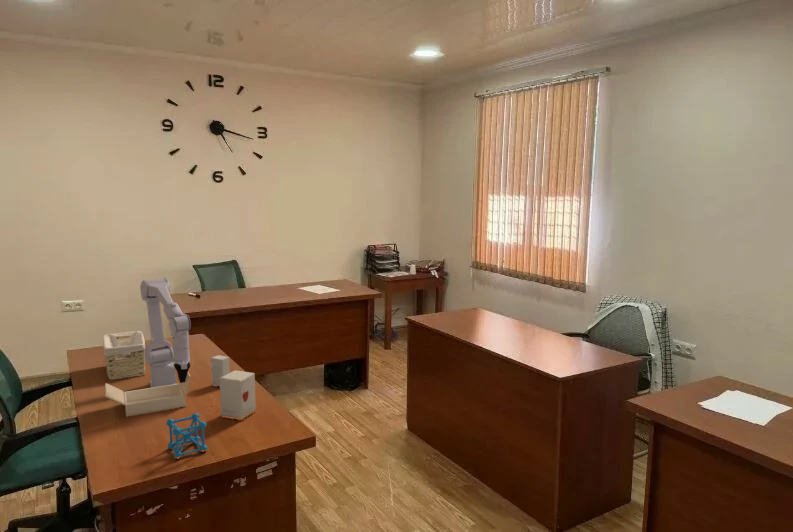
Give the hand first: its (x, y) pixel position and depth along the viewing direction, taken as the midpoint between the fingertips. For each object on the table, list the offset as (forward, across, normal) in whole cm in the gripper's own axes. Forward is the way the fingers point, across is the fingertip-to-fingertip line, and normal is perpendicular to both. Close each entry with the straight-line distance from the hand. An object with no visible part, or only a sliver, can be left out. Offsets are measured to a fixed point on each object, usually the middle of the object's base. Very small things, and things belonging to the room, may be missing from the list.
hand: (182, 381), depth 213 cm
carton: (+7, 0, -10) cm, 13 cm away
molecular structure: (+8, +43, -4) cm, 44 cm away
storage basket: (+8, -47, -18) cm, 51 cm away
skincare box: (+8, -10, +16) cm, 20 cm away
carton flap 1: (+1, 0, -23) cm, 23 cm away
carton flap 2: (-1, 0, +1) cm, 1 cm away
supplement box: (+8, +23, +16) cm, 29 cm away
